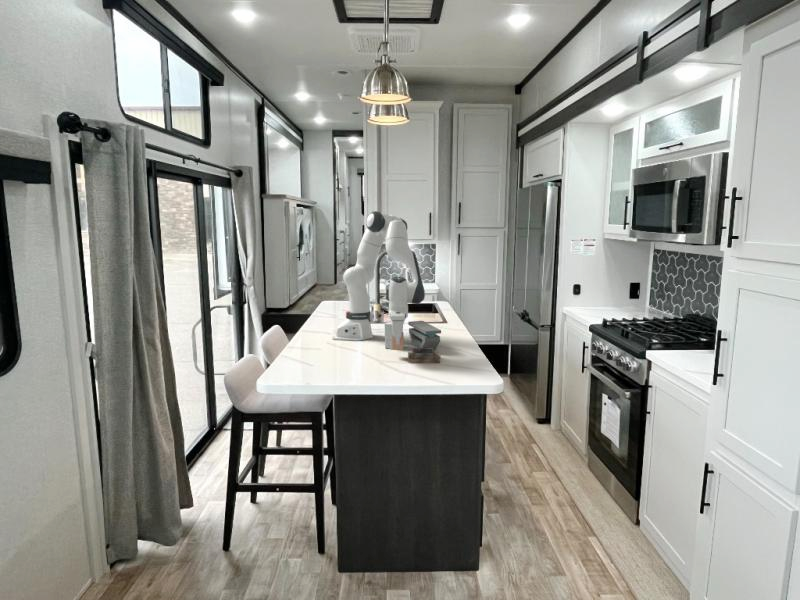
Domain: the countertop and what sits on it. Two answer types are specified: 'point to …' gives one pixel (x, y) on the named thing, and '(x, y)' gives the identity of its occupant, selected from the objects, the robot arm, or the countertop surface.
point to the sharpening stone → (424, 334)
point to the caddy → (423, 355)
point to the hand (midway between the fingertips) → (397, 342)
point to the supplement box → (388, 335)
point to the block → (400, 346)
